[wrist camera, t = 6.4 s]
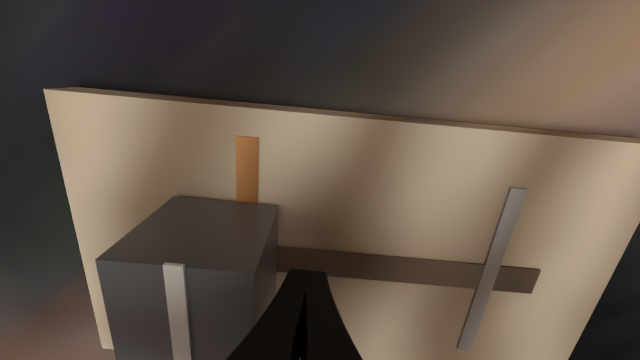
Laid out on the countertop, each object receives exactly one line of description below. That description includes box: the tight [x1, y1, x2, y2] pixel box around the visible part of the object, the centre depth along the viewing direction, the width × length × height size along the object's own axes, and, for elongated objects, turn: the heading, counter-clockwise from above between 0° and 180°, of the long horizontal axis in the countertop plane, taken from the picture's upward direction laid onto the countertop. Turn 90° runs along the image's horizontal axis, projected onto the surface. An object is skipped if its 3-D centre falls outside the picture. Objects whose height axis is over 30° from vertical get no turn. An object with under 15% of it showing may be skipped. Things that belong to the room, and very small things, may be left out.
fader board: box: [43, 87, 640, 360], centre depth 13 cm, size 22×12×2 cm, turn 85°
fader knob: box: [95, 196, 279, 360], centre depth 10 cm, size 4×5×4 cm
